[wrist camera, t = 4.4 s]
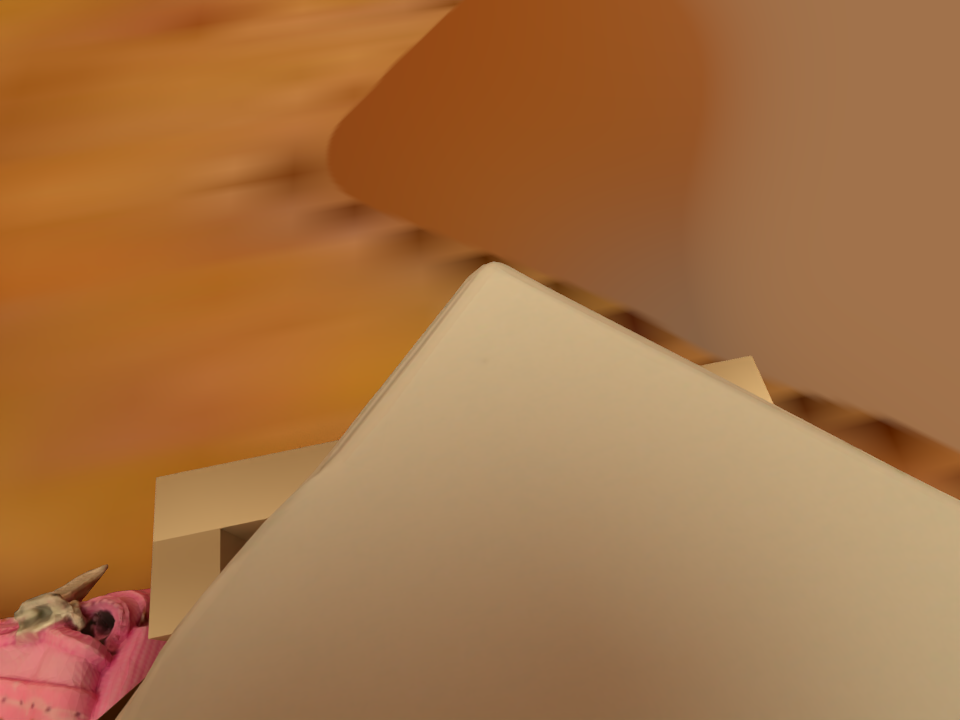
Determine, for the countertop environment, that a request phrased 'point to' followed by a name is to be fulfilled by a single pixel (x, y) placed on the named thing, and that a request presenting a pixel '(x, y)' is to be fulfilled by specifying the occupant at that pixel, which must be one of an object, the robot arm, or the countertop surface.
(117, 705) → the robot arm
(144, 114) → the countertop surface
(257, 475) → the shallow wooden tray
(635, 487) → the skincare box
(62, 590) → the pencil case
